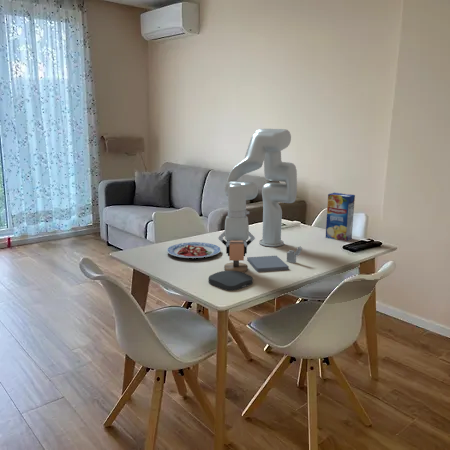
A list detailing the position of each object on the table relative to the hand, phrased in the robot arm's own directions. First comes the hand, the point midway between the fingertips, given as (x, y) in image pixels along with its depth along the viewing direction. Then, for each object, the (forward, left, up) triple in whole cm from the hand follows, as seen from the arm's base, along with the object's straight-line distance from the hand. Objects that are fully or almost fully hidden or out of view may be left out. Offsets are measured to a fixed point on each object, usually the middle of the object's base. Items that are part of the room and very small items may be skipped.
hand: (236, 254), depth 193 cm
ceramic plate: (-27, -14, -7) cm, 31 cm away
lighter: (-4, +28, -7) cm, 29 cm away
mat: (-3, +15, -6) cm, 16 cm away
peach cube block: (0, 0, -2) cm, 2 cm away
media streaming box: (+15, -6, -7) cm, 18 cm away
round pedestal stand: (0, 0, -6) cm, 6 cm away
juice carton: (-40, +68, -7) cm, 79 cm away
